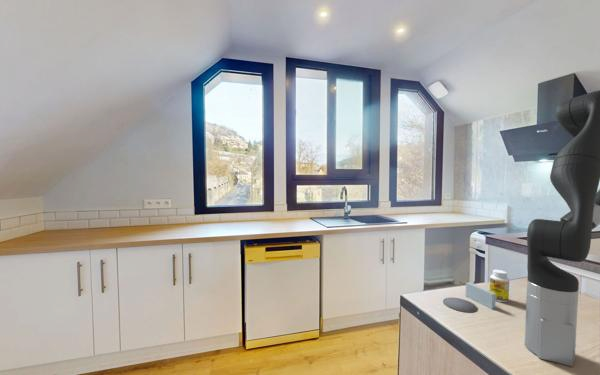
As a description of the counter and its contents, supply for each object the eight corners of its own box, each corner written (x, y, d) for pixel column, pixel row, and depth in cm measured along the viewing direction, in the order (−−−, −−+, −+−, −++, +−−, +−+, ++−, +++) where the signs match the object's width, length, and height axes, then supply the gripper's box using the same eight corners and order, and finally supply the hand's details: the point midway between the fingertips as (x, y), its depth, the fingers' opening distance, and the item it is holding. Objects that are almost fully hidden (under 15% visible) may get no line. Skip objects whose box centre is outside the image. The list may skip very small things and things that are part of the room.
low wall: (495, 308, 88) (495, 293, 88) (491, 309, 88) (492, 294, 88) (468, 295, 98) (469, 282, 98) (465, 296, 98) (466, 282, 97)
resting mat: (479, 315, 84) (479, 314, 84) (443, 307, 89) (443, 306, 88) (474, 302, 93) (474, 301, 93) (442, 296, 97) (442, 295, 97)
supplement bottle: (485, 296, 97) (486, 269, 97) (496, 295, 99) (497, 268, 98) (501, 303, 92) (502, 274, 92) (512, 301, 94) (513, 273, 93)
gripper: (560, 207, 95) (521, 236, 99) (590, 212, 81) (543, 246, 85) (578, 222, 94) (537, 251, 97) (612, 230, 80) (563, 264, 84)
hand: (540, 249), depth 91 cm, fingers open, 8 cm apart
